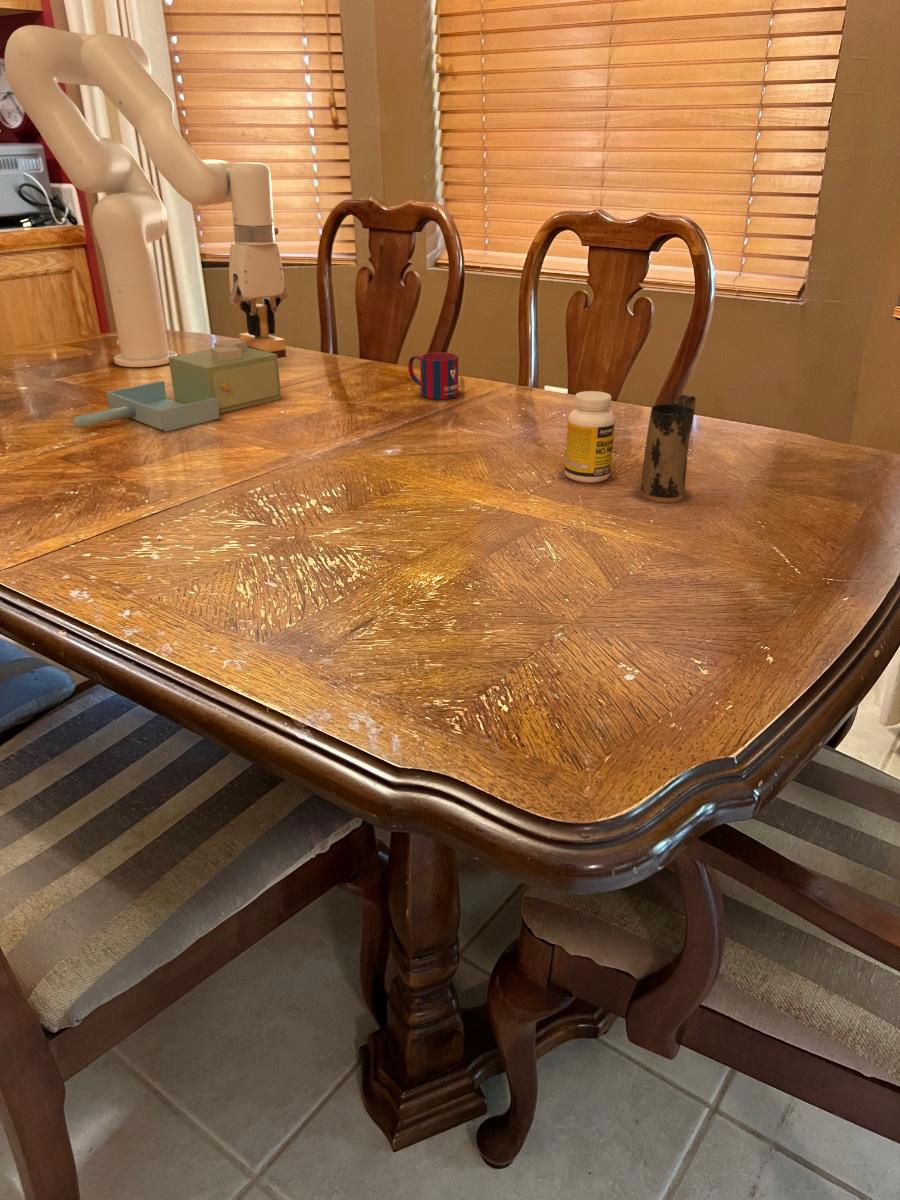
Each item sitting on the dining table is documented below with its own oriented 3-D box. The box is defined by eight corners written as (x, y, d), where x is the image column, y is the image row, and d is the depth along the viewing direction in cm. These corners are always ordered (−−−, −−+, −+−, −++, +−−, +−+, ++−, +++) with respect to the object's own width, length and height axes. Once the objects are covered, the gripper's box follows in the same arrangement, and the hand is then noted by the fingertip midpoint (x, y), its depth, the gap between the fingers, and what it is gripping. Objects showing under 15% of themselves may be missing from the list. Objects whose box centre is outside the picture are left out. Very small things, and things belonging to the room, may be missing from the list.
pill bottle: (599, 487, 113) (606, 404, 108) (556, 478, 116) (561, 397, 110) (617, 473, 117) (624, 393, 112) (575, 465, 120) (581, 387, 115)
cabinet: (175, 402, 151) (168, 357, 147) (242, 387, 160) (237, 344, 156) (217, 416, 143) (211, 369, 139) (285, 400, 152) (281, 355, 148)
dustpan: (165, 400, 152) (162, 380, 150) (219, 418, 142) (217, 398, 140) (52, 424, 139) (47, 403, 137) (102, 446, 128) (98, 424, 127)
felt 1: (214, 351, 150) (213, 343, 150) (231, 347, 153) (230, 339, 153) (230, 354, 148) (229, 345, 148) (247, 350, 151) (246, 341, 151)
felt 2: (211, 357, 147) (210, 348, 146) (234, 354, 149) (233, 345, 148) (219, 361, 144) (218, 352, 143) (242, 358, 146) (241, 349, 145)
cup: (440, 401, 150) (440, 362, 147) (400, 392, 156) (398, 354, 153) (465, 394, 155) (465, 355, 151) (425, 385, 161) (424, 348, 157)
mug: (670, 505, 107) (682, 410, 101) (631, 495, 110) (641, 402, 104) (699, 488, 112) (712, 397, 107) (661, 479, 115) (672, 390, 110)
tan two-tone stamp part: (240, 351, 176) (236, 302, 171) (256, 348, 179) (253, 300, 174) (269, 359, 170) (266, 310, 165) (286, 357, 173) (283, 307, 168)
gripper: (277, 231, 171) (283, 326, 180) (206, 235, 161) (216, 336, 169) (300, 234, 167) (305, 332, 175) (229, 239, 156) (238, 342, 165)
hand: (261, 333), depth 172 cm, fingers closed on tan two-tone stamp part, 2 cm apart
